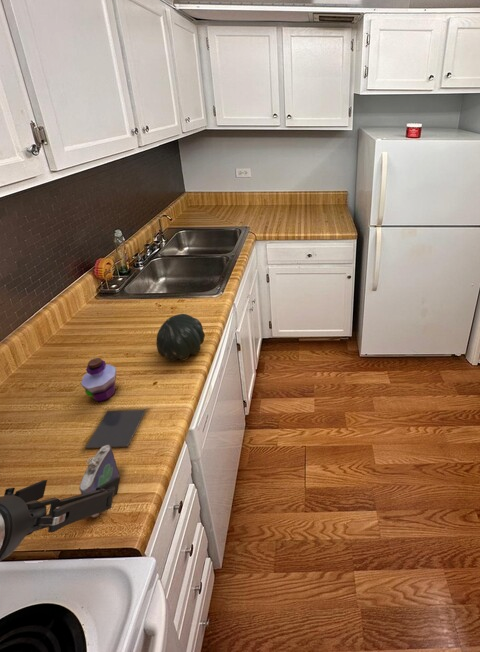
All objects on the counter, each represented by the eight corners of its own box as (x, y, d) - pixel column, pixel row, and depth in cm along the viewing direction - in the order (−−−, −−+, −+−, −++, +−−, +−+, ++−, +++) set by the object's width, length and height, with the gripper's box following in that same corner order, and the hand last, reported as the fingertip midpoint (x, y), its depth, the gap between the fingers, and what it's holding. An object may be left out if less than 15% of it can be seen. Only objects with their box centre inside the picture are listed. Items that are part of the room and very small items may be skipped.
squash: (213, 319, 117) (178, 296, 110) (211, 349, 104) (171, 326, 97) (185, 344, 119) (149, 324, 112) (180, 378, 105) (139, 357, 99)
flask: (100, 518, 66) (86, 483, 62) (85, 519, 66) (70, 484, 62) (122, 470, 75) (111, 437, 71) (109, 471, 75) (97, 438, 71)
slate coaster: (85, 448, 80) (85, 447, 79) (107, 412, 89) (107, 411, 89) (127, 447, 80) (127, 446, 80) (145, 410, 89) (145, 409, 89)
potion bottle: (79, 406, 90) (67, 373, 86) (99, 381, 98) (89, 349, 94) (110, 407, 90) (99, 374, 86) (128, 382, 98) (119, 350, 94)
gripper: (82, 499, 45) (150, 460, 65) (-109, 507, 44) (18, 466, 64) (68, 572, 42) (143, 508, 62) (-137, 582, 41) (5, 515, 61)
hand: (80, 487), depth 63 cm, fingers open, 13 cm apart
